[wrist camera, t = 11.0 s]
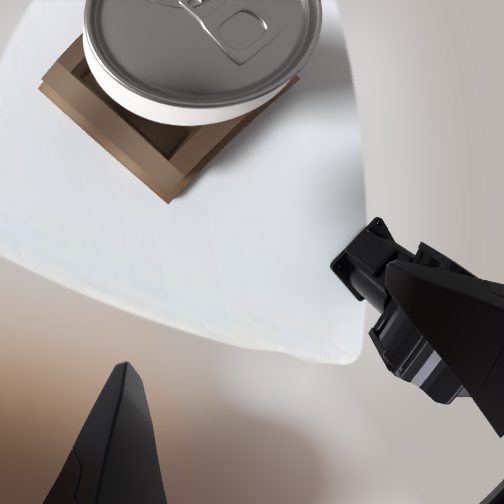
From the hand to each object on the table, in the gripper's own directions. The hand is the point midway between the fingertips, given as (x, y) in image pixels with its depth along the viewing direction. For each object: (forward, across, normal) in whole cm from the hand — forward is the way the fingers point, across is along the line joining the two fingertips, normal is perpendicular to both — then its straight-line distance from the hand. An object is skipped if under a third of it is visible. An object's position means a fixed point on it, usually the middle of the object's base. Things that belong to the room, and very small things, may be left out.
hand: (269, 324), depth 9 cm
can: (+12, 0, -9) cm, 15 cm away
